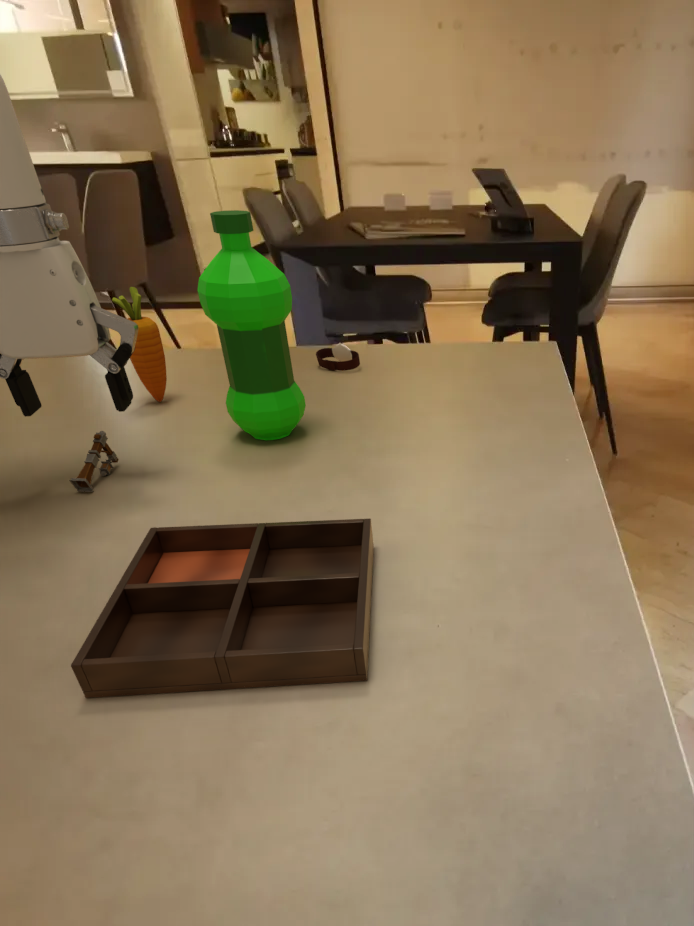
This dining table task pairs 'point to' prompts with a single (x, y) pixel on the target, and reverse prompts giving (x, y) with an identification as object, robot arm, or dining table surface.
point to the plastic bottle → (251, 330)
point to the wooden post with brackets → (95, 463)
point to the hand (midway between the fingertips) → (79, 409)
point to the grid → (235, 610)
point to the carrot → (146, 348)
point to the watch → (340, 352)
